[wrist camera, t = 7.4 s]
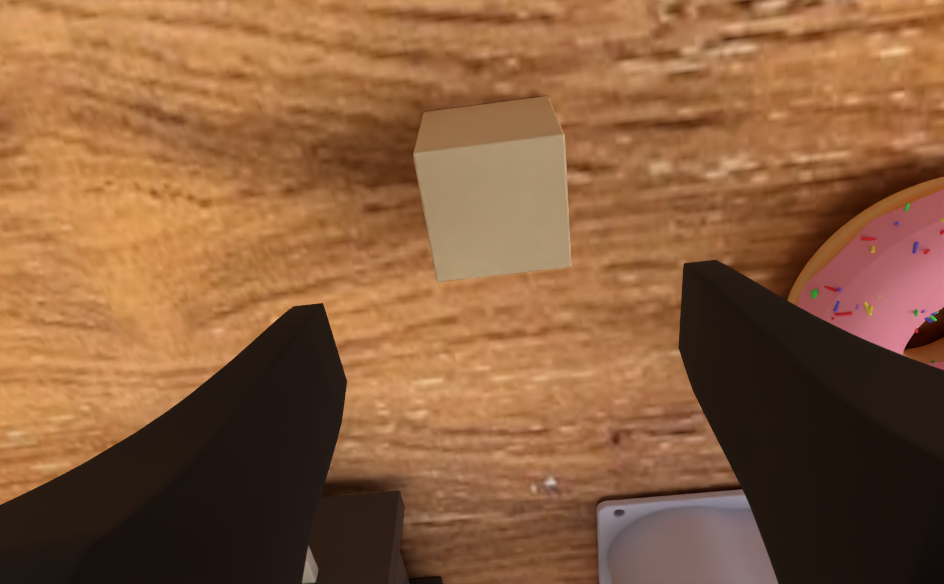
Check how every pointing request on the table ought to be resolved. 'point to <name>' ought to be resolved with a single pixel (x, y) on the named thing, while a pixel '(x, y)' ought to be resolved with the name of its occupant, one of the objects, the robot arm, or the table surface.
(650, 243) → the table surface
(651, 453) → the table surface
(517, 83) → the table surface
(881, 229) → the doughnut
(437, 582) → the dark drawer cabinet
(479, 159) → the block
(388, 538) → the dark drawer with handle
